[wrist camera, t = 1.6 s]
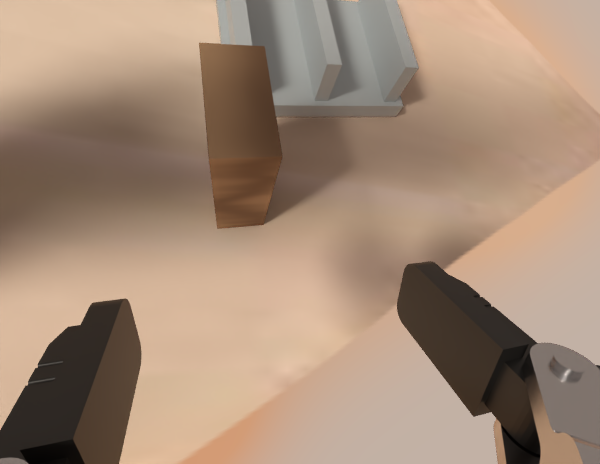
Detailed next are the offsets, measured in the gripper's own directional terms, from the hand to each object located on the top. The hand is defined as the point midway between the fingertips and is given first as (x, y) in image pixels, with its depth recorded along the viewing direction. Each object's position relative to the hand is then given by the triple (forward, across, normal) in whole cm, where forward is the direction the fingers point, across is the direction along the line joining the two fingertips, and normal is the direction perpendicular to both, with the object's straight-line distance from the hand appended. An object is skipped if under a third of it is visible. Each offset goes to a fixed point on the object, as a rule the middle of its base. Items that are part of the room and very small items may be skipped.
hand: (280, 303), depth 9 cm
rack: (+27, -8, -7) cm, 29 cm away
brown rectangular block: (+18, 0, +2) cm, 18 cm away
